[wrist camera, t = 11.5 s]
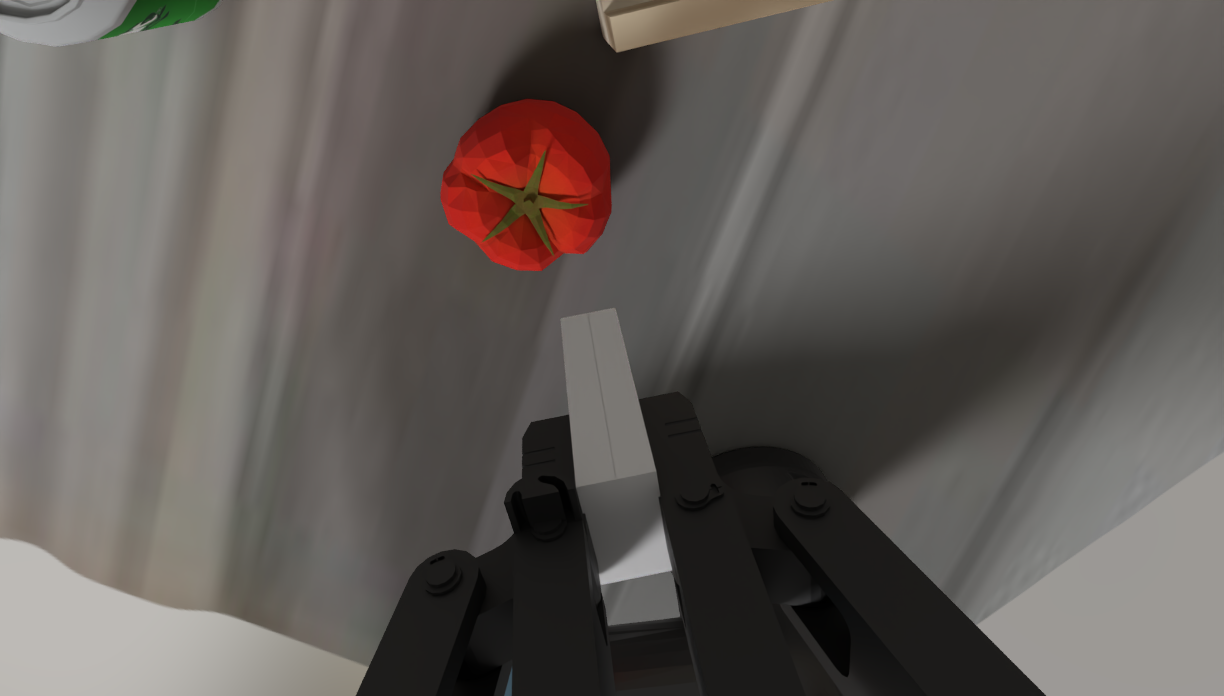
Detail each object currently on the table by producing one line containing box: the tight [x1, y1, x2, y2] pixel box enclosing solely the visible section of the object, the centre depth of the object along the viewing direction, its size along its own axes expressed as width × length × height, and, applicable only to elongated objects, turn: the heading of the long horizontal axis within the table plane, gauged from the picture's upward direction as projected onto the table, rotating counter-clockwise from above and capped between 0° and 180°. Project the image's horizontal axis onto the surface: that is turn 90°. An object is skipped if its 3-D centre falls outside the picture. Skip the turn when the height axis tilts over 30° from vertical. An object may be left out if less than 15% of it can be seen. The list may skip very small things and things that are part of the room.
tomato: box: [441, 99, 612, 271], centre depth 36 cm, size 9×9×8 cm
